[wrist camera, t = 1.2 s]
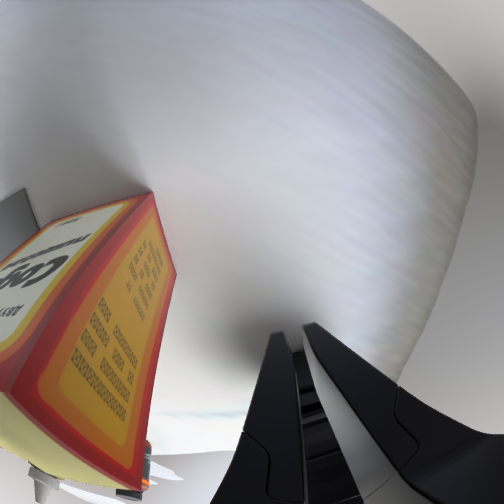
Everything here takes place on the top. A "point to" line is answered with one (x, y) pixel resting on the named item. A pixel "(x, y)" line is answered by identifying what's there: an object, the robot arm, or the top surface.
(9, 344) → the baking soda box
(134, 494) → the supplement bottle
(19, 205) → the mat
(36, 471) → the squeeze bottle
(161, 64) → the top surface
